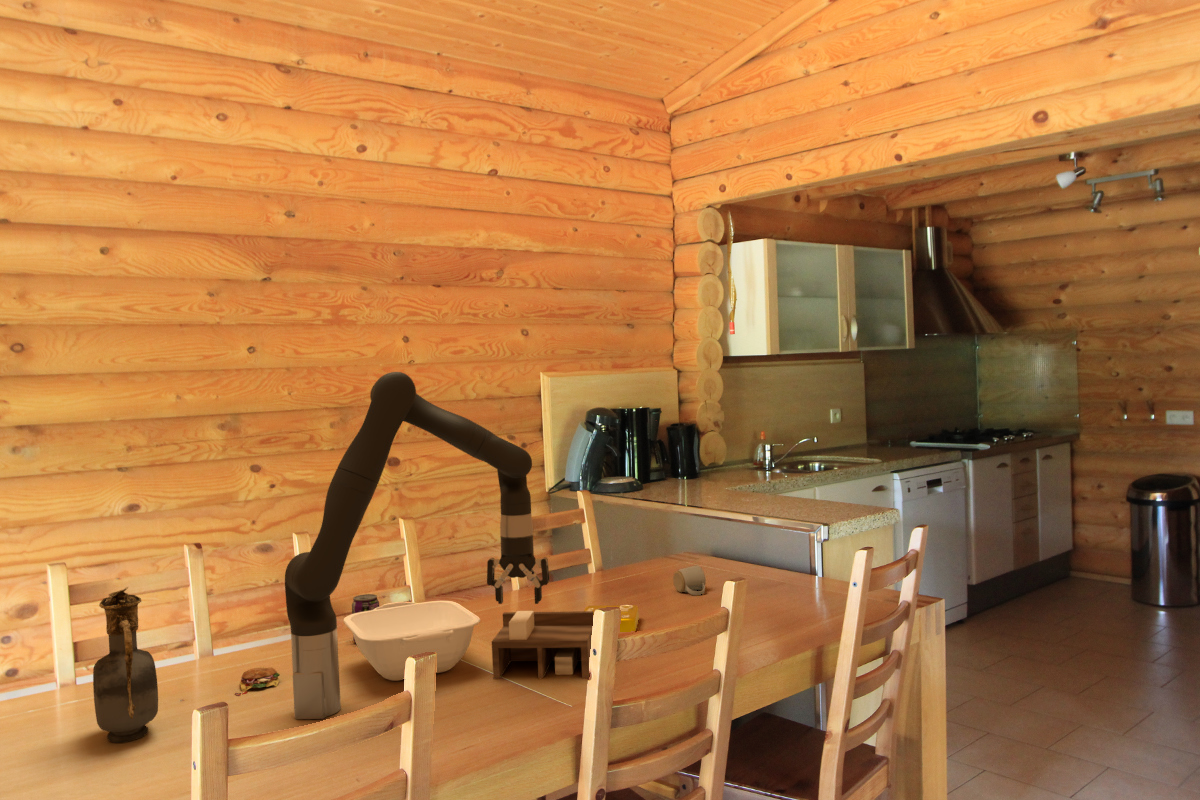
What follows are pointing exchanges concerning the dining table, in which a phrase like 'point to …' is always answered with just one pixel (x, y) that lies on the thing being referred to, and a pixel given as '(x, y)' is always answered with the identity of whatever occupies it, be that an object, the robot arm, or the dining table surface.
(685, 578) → the ceramic mug
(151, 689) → the pitcher
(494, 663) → the walnut shelf
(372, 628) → the white plastic basin
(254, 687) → the hamburger
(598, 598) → the dining table surface
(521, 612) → the cream block
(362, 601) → the beverage can
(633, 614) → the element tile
